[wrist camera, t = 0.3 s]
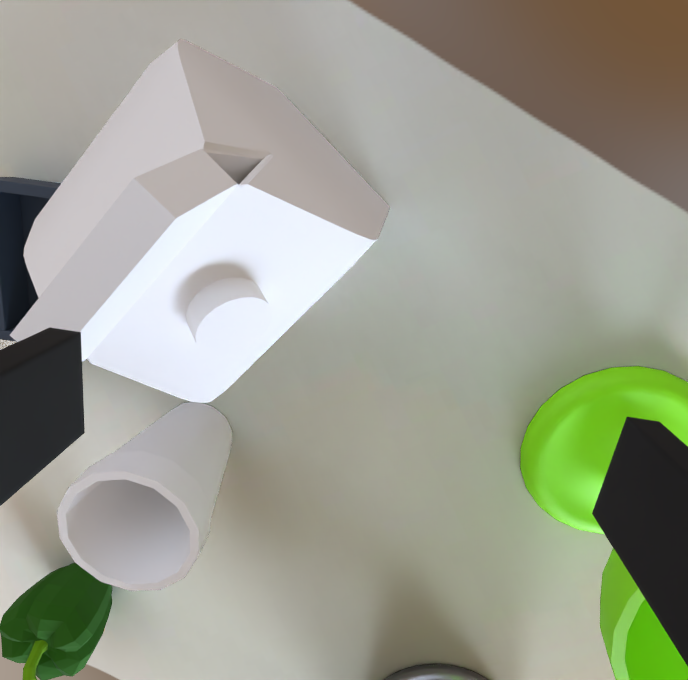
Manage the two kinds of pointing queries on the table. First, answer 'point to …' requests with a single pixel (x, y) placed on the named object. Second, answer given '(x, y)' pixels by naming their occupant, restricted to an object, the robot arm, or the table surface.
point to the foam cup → (149, 501)
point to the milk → (196, 228)
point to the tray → (18, 246)
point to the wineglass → (585, 484)
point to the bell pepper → (56, 623)
